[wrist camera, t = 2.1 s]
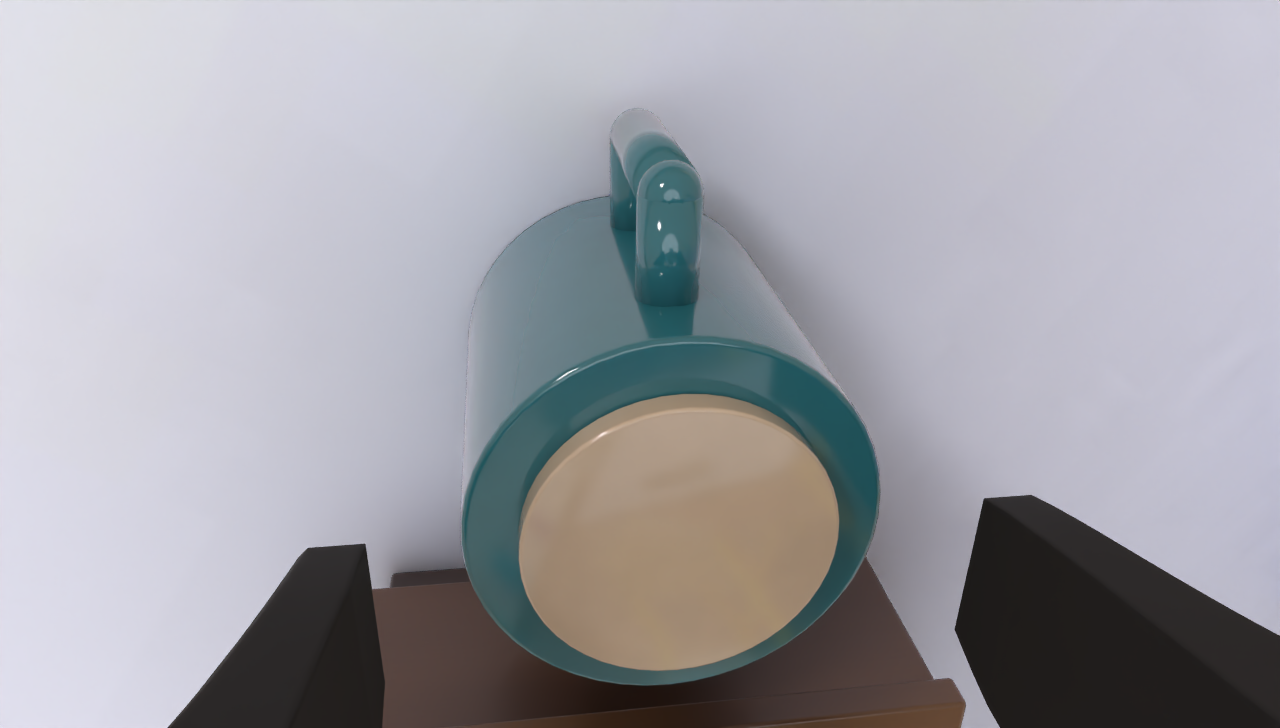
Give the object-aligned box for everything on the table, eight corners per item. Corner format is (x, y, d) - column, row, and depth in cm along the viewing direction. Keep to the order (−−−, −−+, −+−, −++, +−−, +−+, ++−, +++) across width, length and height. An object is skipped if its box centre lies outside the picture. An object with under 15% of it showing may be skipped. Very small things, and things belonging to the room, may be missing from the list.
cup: (790, 86, 15) (951, 196, 10) (757, 459, 18) (865, 691, 13) (450, 90, 14) (427, 210, 9) (477, 476, 18) (472, 729, 12)
